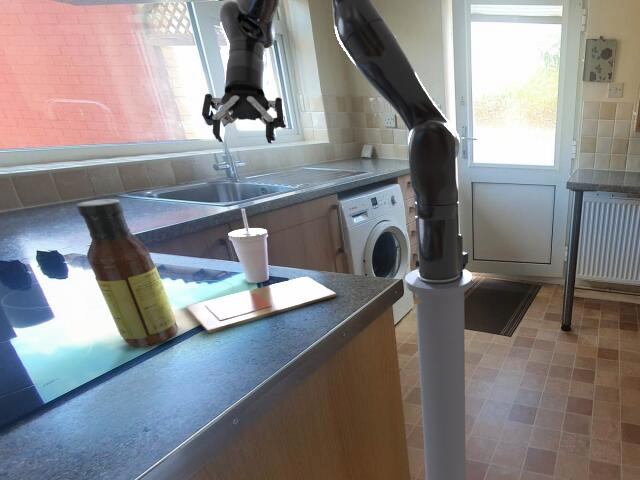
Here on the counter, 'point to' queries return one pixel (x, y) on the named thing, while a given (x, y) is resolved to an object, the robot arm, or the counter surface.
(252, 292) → the wooden board
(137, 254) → the sauce bottle
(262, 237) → the smoothie
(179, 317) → the counter surface
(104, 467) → the counter surface
